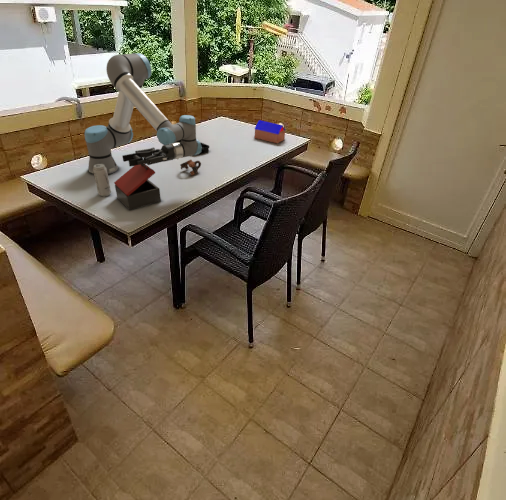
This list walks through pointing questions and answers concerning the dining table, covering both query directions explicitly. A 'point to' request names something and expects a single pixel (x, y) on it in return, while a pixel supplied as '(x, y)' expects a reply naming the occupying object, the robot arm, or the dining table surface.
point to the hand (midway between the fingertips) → (126, 161)
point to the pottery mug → (192, 165)
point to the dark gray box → (140, 196)
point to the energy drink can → (102, 180)
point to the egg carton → (204, 147)
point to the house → (269, 132)
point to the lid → (134, 177)
